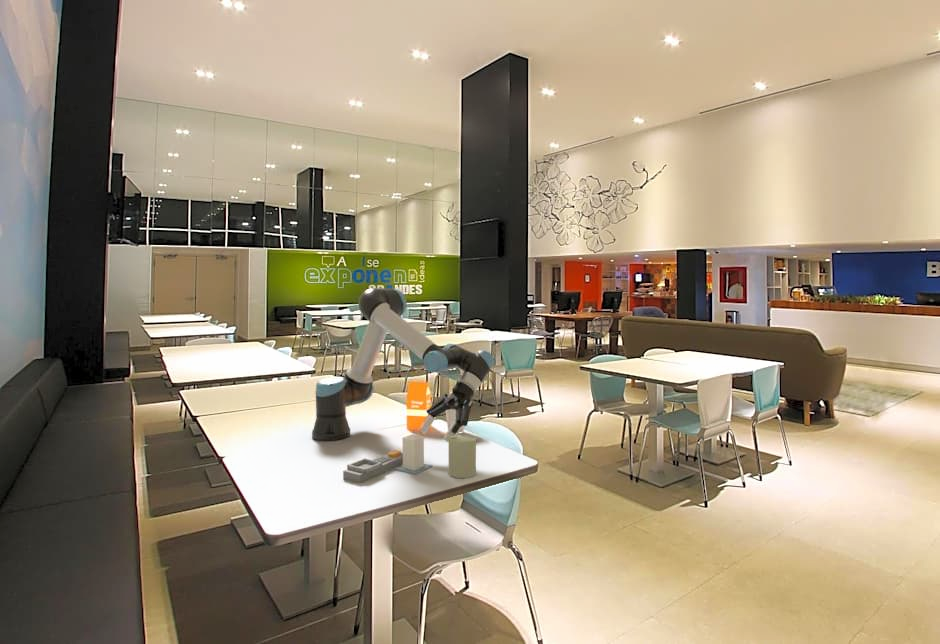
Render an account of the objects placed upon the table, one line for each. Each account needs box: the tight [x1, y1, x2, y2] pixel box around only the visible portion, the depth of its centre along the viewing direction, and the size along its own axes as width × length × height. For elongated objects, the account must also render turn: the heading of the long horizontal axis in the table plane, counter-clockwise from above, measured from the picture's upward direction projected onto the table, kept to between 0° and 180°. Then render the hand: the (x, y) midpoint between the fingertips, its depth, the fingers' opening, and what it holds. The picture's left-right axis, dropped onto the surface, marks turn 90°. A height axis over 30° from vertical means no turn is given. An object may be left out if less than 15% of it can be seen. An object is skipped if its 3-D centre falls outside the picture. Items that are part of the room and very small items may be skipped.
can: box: [447, 433, 477, 479], centre depth 164 cm, size 9×9×12 cm
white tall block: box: [402, 434, 425, 470], centre depth 169 cm, size 5×5×10 cm
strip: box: [342, 450, 403, 484], centre depth 168 cm, size 8×24×4 cm, turn 148°
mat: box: [393, 463, 433, 475], centre depth 169 cm, size 9×9×1 cm
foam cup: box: [445, 403, 465, 433], centre depth 213 cm, size 10×9×13 cm
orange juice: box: [406, 381, 432, 431], centre depth 221 cm, size 8×9×20 cm
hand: (433, 436), depth 174 cm, fingers open, 13 cm apart
